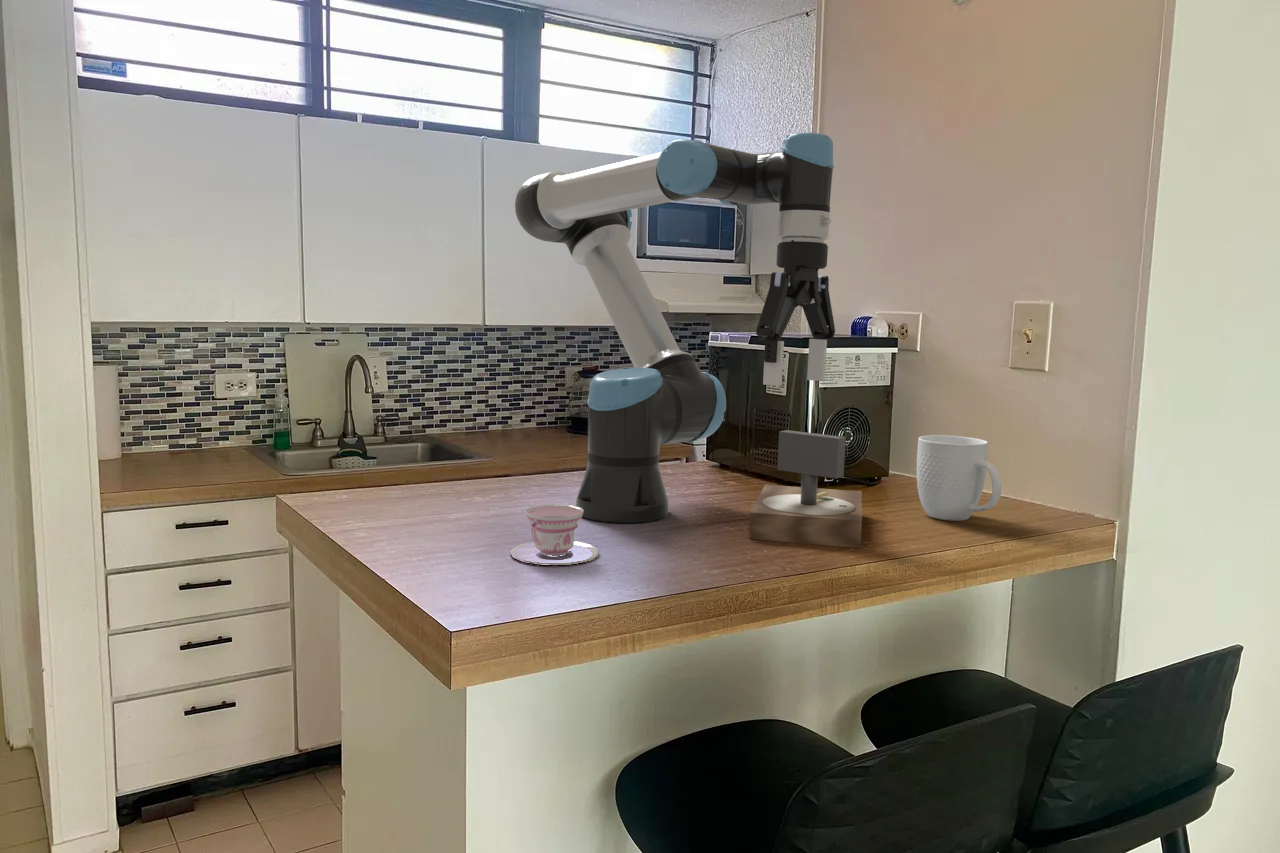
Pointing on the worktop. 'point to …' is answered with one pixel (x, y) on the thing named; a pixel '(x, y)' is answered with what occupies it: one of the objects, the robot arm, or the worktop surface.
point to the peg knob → (811, 459)
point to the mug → (954, 476)
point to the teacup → (555, 530)
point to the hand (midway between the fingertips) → (794, 383)
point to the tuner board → (807, 517)
